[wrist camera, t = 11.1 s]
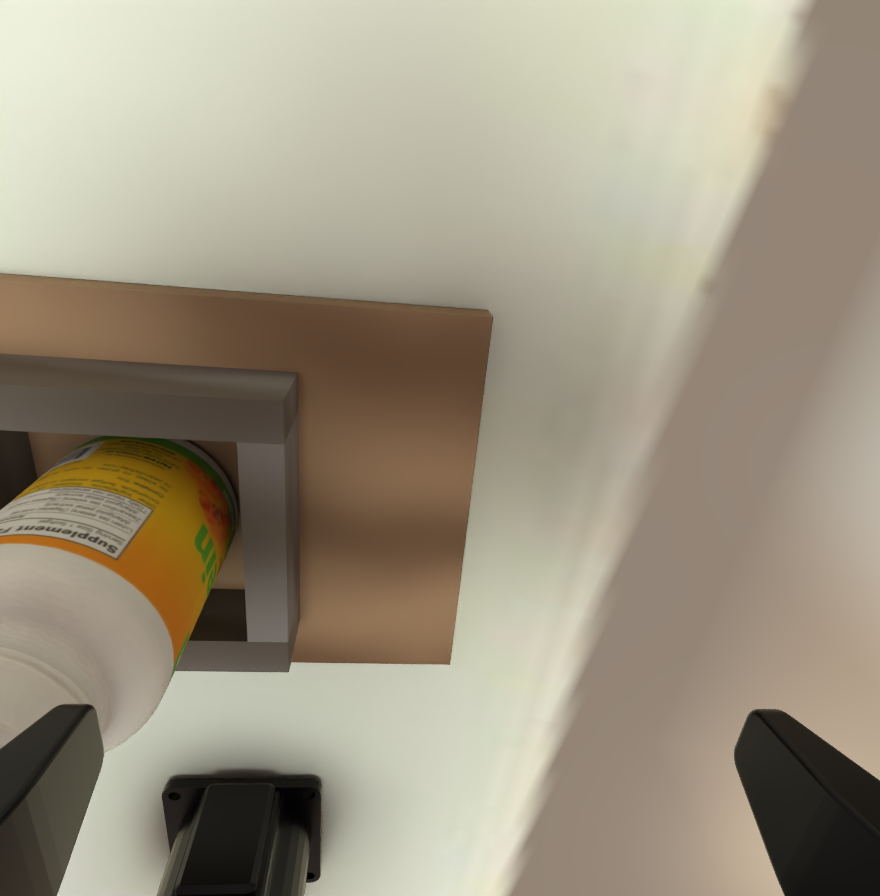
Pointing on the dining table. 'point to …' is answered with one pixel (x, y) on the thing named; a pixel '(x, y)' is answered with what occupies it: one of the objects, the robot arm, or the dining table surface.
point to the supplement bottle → (107, 579)
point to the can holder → (273, 448)
